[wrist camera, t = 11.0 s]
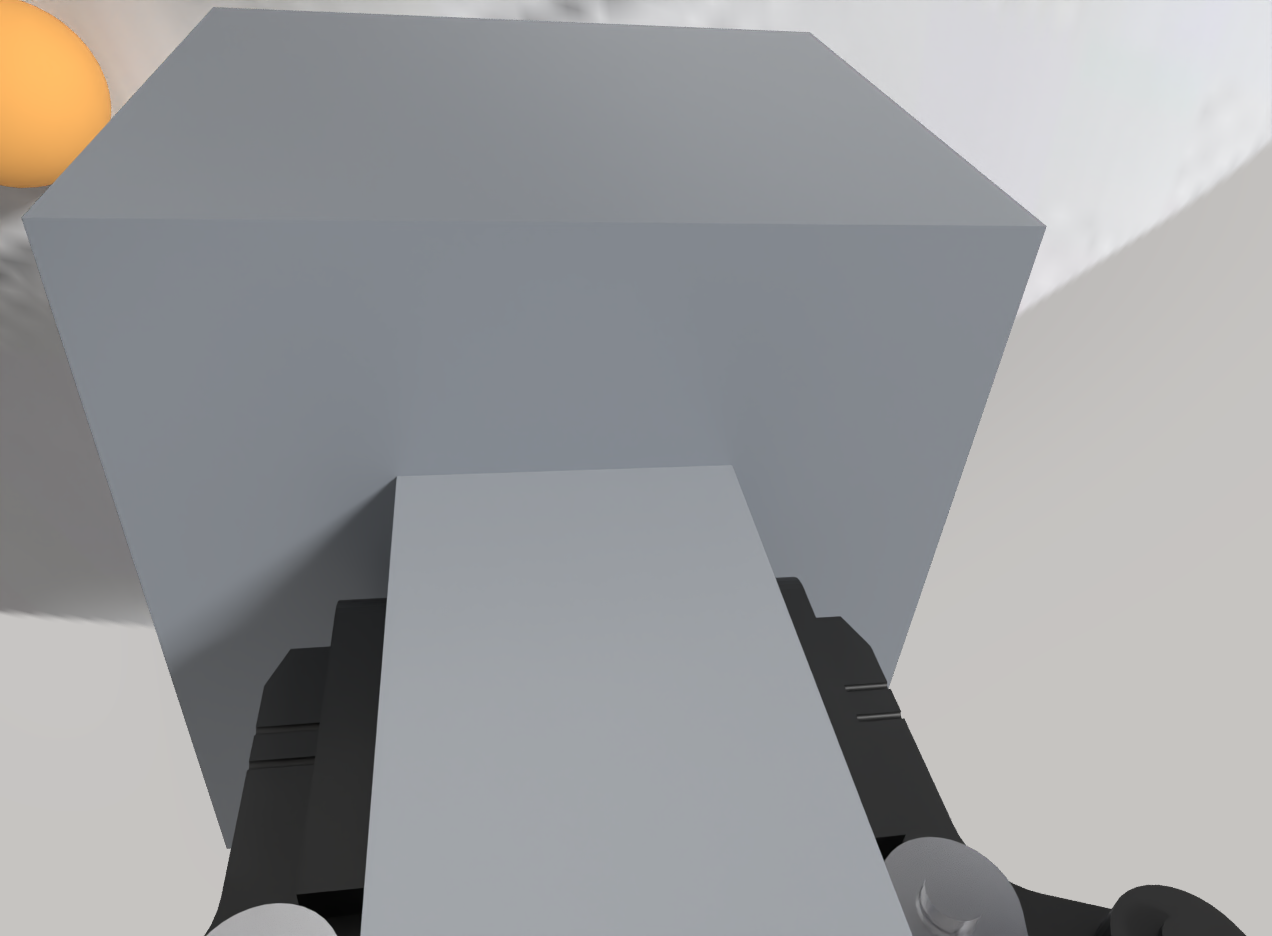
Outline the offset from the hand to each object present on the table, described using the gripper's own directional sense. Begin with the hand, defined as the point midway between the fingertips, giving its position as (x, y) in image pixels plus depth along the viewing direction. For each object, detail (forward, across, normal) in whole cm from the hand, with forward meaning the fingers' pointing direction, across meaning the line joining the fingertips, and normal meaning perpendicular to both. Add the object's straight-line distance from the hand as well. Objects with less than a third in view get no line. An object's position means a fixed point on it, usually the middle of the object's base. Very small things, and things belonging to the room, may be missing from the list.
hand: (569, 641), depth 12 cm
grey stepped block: (+10, 0, 0) cm, 10 cm away
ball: (+22, +14, 0) cm, 26 cm away
